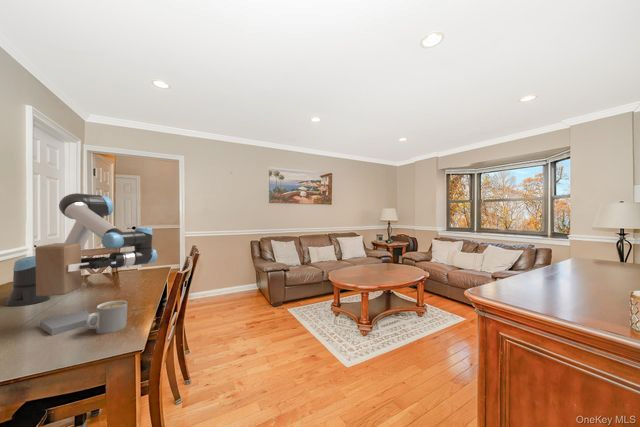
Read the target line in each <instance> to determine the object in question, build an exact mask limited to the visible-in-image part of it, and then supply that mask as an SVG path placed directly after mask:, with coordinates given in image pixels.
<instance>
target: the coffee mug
mask: <svg viewBox="0 0 640 427" xmlns="http://www.w3.org/2000/svg"><path fill="white" fill-rule="evenodd" d="M93 317H96V322H95V323H94V324H90V320H91V318H93ZM127 317H128V301H126V300H113V301H112V300H111V301H106V302H103V303H100V304H98V305H97V306H96V312H93V313H90V315H88V316H87V317H86V320H85V325H86V326H85V327H86V328H87V329H89V330H90V329H91V330H95V333H96V334H97V335H98V334H99V335H102V334H103V335H105V334H112V333H115V332H119V331H122V330H123V329H125V328H126V327H127V323H128V322H127V320H128V319H127Z"/></svg>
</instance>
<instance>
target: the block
mask: <svg viewBox="0 0 640 427" xmlns="http://www.w3.org/2000/svg"><path fill="white" fill-rule="evenodd" d="M34 253H35V255H34V256H35V261H36V295H37V296H64V295H67V294H69V293H71V292H74V291H76V290H79V289H81V288H82V285H83V283H82V282H83V281H82V270H78V271H70V272H68V265H71V264H80V263H81V255H82V251H81V244H80V243H65V242H61V243H60V242H59V243H58V242H56V243H55V242H54V243H50V244H45V245H44V244H43V245H39V246H36V247H35V249H34Z"/></svg>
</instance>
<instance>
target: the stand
mask: <svg viewBox="0 0 640 427" xmlns="http://www.w3.org/2000/svg"><path fill="white" fill-rule="evenodd" d="M90 314H91V313H90V312H88V311H86V310H80V311H76V312H70V313H67V314H62V315H59V316H55V317H50V318H46V319H43V320H39V328H41V329H42V330H43V331H44V332H47V333H48V334H49V335H50V336H54V335H55V336H56V335H57V334H61V333H65V332H68V331H72V330H76V329H79V328H83V327H86V325H85V320H86V317H87V316H88V315H90ZM95 322H96V317H93V318H91V320H90V324H91V325H93V324H94V323H95Z"/></svg>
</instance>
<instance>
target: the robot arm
mask: <svg viewBox="0 0 640 427" xmlns="http://www.w3.org/2000/svg"><path fill="white" fill-rule="evenodd" d="M58 209H59V212H60V213H61V214H62V215H64V216H65V217H66V218H68V219H70V220H75V221H74V223H73V226H72V228H71V230H70V232H69V233H68V236H67V238H66V239H65V241H64V243H80V244H81V252H82V251H83V249H84V247H85V246H86V244H87V242H88V241H89V239H90V236H91V235H92V233H93V234H95V235H96V236H97V237H99V238H100V239H101V244H102V247H103V248H105V249H107V250H108V249H109V250H110V249H113V250H116V249H121V248H131V247H134V250H125V251H117V252H116V251H115V252H110V254H109V255H108V257H107V256H98V257H96V256H95V257H83V255H82V254H81V263H80V264H71V265H68V272H70V271H78V270H81V271H85V270H98V269H102V268H107V267H109V268H111V269H119V268H123V267H124V268H130V266H139V265H148V264H152V263H155V262H156V261H157V259H158V253H157V250H156V249H155V248H153V237H154V236H153V228H152V227H147V226H146V227H145V226H141V227H135V229H134V231H122V230H121V229H119V228H118V227H116V226H115V225H114V224H112V223H111V222H109V221H107V220H106V219H104V217H105V216H106V217H109V216H110V215H112V213H113V212H114V204H113V201H112V200H111V198H110V197H108V196H107V195H101V194H89V193H88V194H87V193H79V192H78V193H77V192H76V193H70V194H67V195H66V196H63V198H62V199H61V200H60V201H59V204H58ZM12 268H13V277H12V280H13V281H12V290H11V292H10V293H9V295H8V297H7V300H6V306H9V307H19V306H20V307H21V306H28V305H29V306H30V305H33V304H34V305H35V304H39V303H43V302H46V301H48V300H50V299H51V296H37V295H36V261H35V255H31V256H25V257H22V258H19V259H17V260H15V262H14V265H13V267H12Z"/></svg>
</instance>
